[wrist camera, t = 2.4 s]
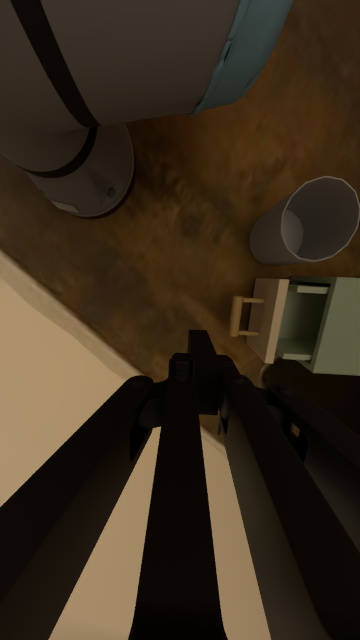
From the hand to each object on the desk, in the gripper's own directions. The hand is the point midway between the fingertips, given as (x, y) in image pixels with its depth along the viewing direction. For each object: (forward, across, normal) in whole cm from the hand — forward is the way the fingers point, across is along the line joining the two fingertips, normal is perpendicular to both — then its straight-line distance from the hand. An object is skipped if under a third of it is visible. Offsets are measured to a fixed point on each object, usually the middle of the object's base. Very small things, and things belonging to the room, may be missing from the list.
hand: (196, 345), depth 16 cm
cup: (+18, +13, +12) cm, 25 cm away
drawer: (+16, +15, 0) cm, 22 cm away
